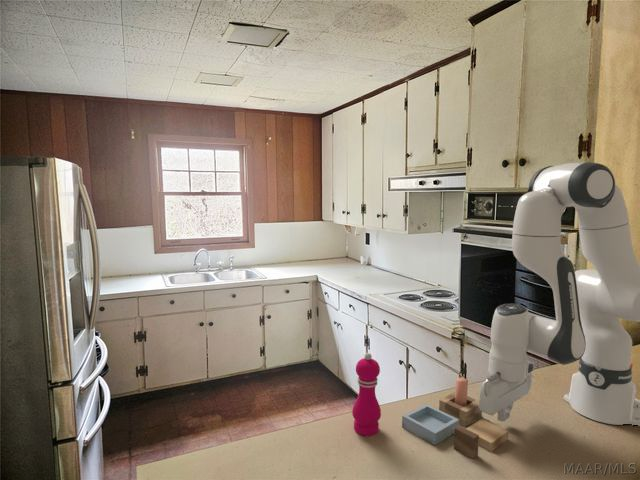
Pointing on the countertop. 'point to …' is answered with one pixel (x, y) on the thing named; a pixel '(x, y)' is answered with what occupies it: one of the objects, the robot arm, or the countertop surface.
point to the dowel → (461, 391)
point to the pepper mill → (367, 397)
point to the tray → (430, 423)
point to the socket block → (461, 409)
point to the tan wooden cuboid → (489, 434)
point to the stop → (466, 442)
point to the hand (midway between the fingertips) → (503, 419)
